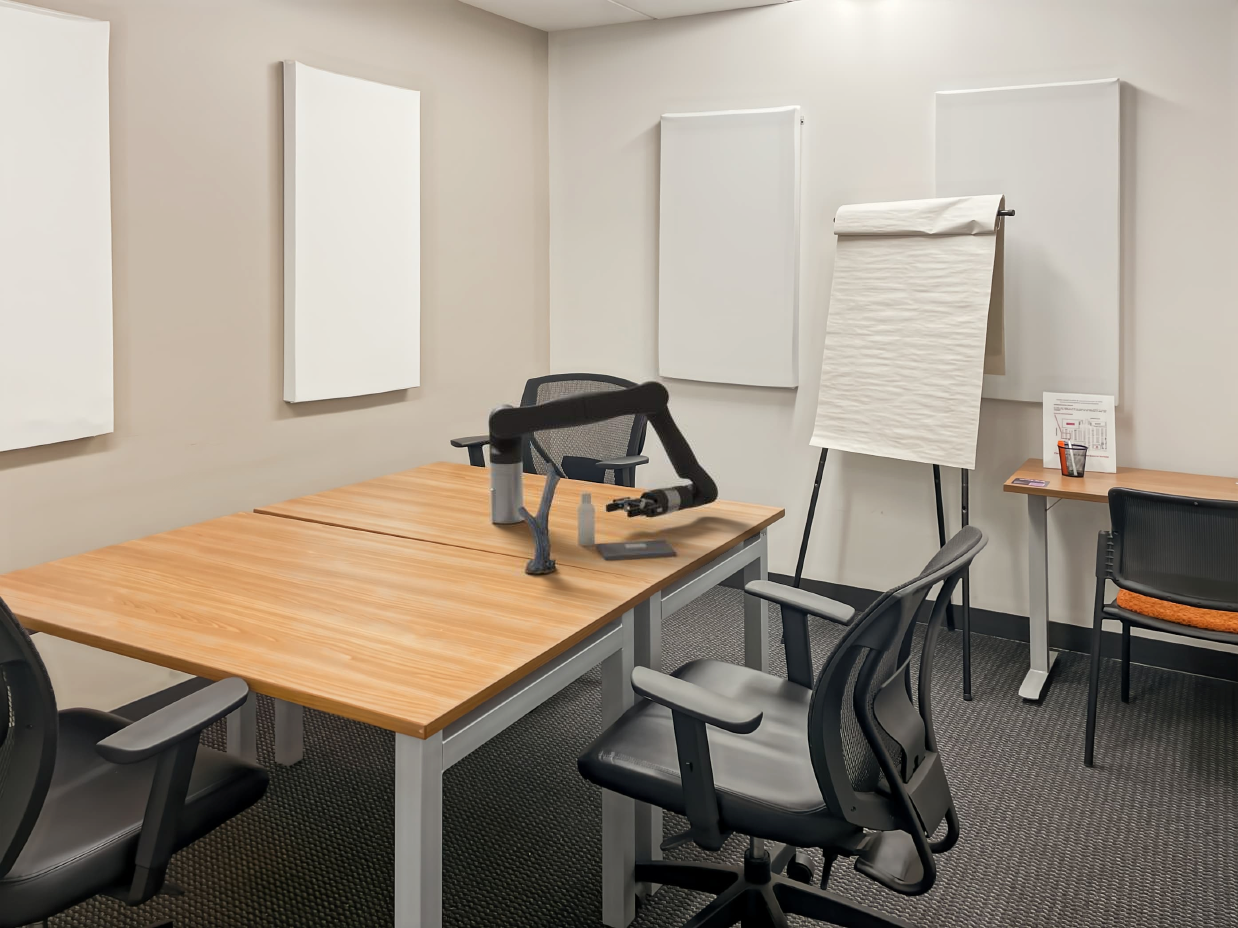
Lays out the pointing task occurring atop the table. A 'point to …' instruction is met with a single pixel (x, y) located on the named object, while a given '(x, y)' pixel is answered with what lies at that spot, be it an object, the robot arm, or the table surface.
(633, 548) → the dock mat
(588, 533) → the white tabbed cylinder
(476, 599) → the table surface
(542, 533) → the bare tree trunk
